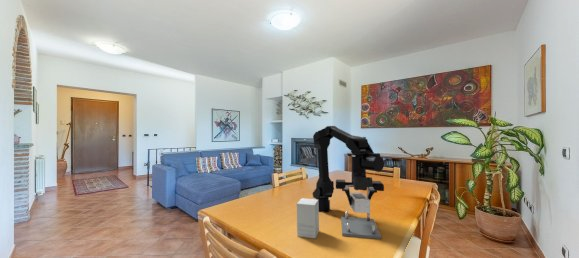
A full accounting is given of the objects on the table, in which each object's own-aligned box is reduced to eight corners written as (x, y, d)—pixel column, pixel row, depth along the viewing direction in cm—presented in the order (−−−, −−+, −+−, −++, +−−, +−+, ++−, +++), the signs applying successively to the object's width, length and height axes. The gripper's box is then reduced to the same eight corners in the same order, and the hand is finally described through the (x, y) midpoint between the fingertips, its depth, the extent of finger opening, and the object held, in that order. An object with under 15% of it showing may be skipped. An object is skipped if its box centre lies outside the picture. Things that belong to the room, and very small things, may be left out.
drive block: (354, 212, 88) (354, 199, 88) (348, 204, 98) (348, 192, 98) (370, 212, 87) (370, 199, 87) (362, 204, 97) (362, 192, 97)
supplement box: (319, 230, 90) (319, 199, 90) (315, 239, 83) (315, 205, 83) (301, 228, 92) (301, 197, 92) (296, 236, 85) (296, 203, 85)
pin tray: (342, 235, 85) (342, 225, 85) (341, 218, 102) (341, 209, 102) (381, 239, 83) (381, 228, 83) (373, 221, 99) (373, 212, 99)
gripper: (335, 170, 87) (335, 211, 87) (387, 172, 83) (387, 214, 83) (335, 166, 98) (335, 202, 97) (381, 167, 94) (381, 204, 94)
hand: (358, 205), depth 93 cm, fingers closed on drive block, 6 cm apart
